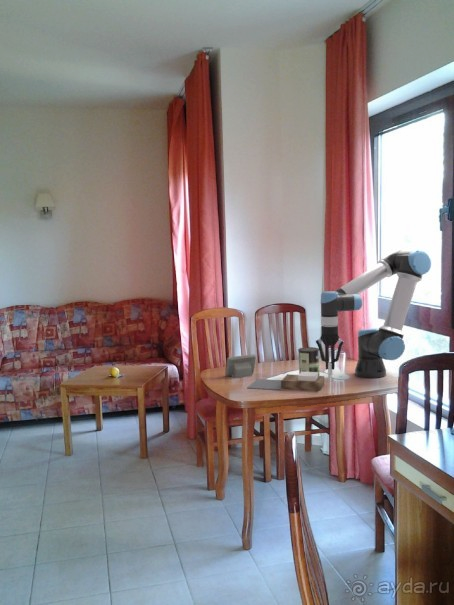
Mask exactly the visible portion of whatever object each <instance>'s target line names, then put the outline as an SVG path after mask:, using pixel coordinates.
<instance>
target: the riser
mask: <svg viewBox="0 0 454 605" xmlns="http://www.w3.org/2000/svg"><path fill="white" fill-rule="evenodd" d="M298 375H299V374H292V373H291V374H289V373H288V374H286V375H285V376H284V377H283V378H282V379H280V380H281V390H289V391H290V390H293V391H294V390H295V391H308V392H309V391H311V392H321V390H322V389H323V388H324V386H325V375H319V376H318V378H317V379H316V381H301V380H298Z"/></svg>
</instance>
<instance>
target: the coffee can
mask: <svg viewBox="0 0 454 605" xmlns="http://www.w3.org/2000/svg"><path fill="white" fill-rule="evenodd" d="M297 351H298V372H299V373H298V375H299V374H300V373H301V372H318V376H320V356H319V355H320V352H319V348H318V347H311V346H310V347H309V346H308V347H307V346H306V347H299V348H298V350H297Z"/></svg>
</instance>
